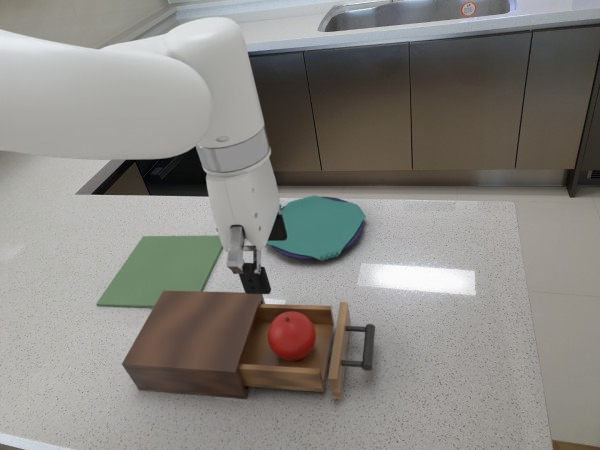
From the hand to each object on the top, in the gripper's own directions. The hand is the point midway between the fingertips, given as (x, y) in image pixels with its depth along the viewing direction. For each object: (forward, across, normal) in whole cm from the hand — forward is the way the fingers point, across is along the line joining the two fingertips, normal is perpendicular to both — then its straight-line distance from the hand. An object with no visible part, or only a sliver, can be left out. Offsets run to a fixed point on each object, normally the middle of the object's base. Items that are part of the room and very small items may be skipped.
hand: (268, 264), depth 59 cm
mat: (+19, -19, -30) cm, 41 cm away
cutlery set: (+20, -32, -6) cm, 38 cm away
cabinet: (+19, 0, -14) cm, 24 cm away
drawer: (+19, +1, +2) cm, 19 cm away
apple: (+14, 0, +1) cm, 14 cm away
